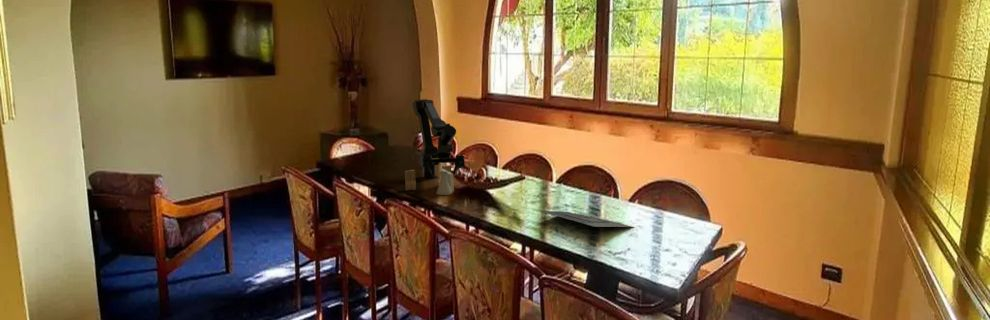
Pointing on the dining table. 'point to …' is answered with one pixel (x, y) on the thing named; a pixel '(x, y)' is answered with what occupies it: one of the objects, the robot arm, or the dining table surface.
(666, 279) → the dining table surface
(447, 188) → the flask
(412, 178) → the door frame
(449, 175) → the door
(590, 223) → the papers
